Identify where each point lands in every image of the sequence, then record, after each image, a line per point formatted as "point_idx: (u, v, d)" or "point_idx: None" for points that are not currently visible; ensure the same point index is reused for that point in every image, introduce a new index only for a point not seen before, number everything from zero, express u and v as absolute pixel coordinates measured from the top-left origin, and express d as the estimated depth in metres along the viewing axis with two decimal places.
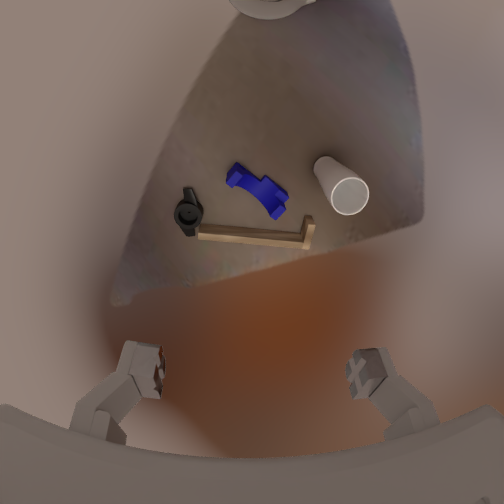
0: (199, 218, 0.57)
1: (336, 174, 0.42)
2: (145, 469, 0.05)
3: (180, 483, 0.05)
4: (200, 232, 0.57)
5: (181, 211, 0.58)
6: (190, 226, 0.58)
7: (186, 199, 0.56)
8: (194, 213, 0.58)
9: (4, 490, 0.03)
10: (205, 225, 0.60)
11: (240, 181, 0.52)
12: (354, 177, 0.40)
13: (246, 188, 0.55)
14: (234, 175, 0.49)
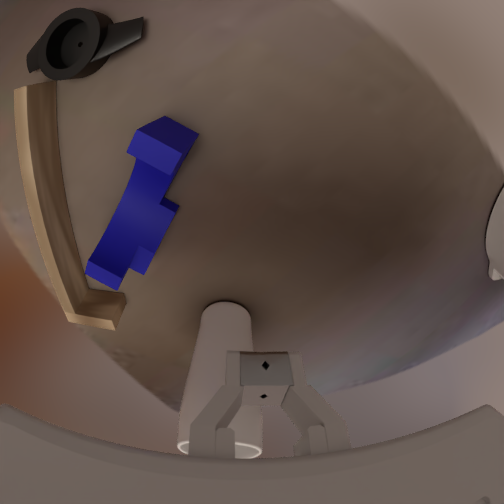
0: (61, 74, 0.13)
1: (254, 417, 0.18)
2: (145, 469, 0.05)
3: (180, 483, 0.05)
4: (28, 90, 0.12)
5: (83, 25, 0.12)
6: (43, 57, 0.12)
7: (111, 29, 0.13)
8: (76, 58, 0.14)
9: (4, 490, 0.03)
10: (50, 94, 0.15)
11: None
12: (261, 451, 0.18)
13: (136, 175, 0.19)
14: (166, 150, 0.14)
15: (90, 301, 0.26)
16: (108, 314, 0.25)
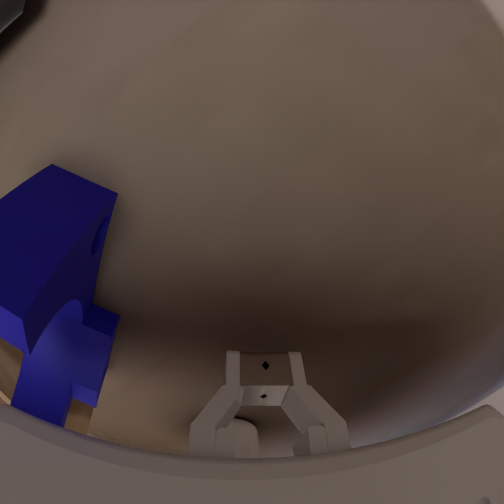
0: None
1: None
2: (145, 469, 0.05)
3: (180, 483, 0.05)
4: None
5: None
6: None
7: None
8: None
9: (4, 490, 0.03)
10: None
11: None
12: None
13: None
14: None
15: None
16: (72, 428, 0.15)
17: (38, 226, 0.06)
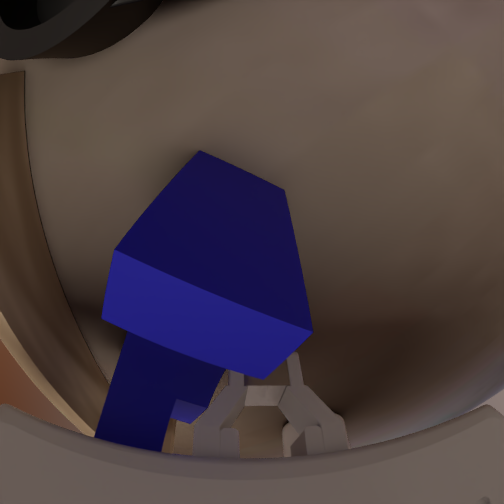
0: (26, 42, 0.03)
1: None
2: (145, 469, 0.05)
3: (180, 483, 0.05)
4: None
5: None
6: None
7: None
8: None
9: (4, 490, 0.03)
10: (10, 103, 0.06)
11: None
12: None
13: None
14: (252, 325, 0.04)
15: None
16: None
17: (248, 218, 0.06)
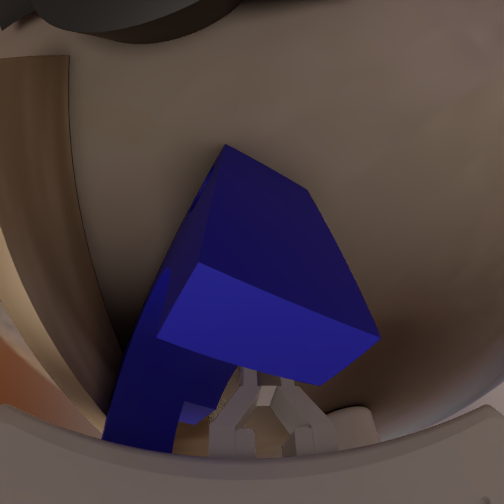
0: (102, 13, 0.03)
1: None
2: (145, 469, 0.05)
3: (180, 483, 0.05)
4: None
5: None
6: None
7: None
8: None
9: (4, 490, 0.03)
10: (54, 91, 0.05)
11: None
12: None
13: (165, 290, 0.09)
14: (330, 335, 0.04)
15: None
16: (199, 454, 0.16)
17: (296, 221, 0.06)
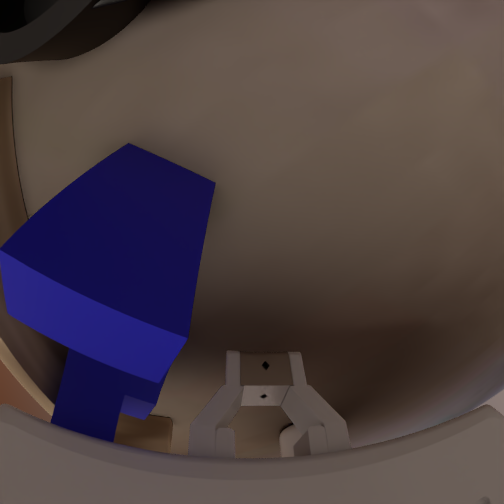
0: (8, 46, 0.03)
1: None
2: (145, 469, 0.05)
3: (180, 483, 0.05)
4: None
5: None
6: None
7: None
8: None
9: (4, 490, 0.03)
10: None
11: None
12: None
13: None
14: (122, 326, 0.03)
15: (123, 432, 0.16)
16: None
17: (151, 212, 0.05)
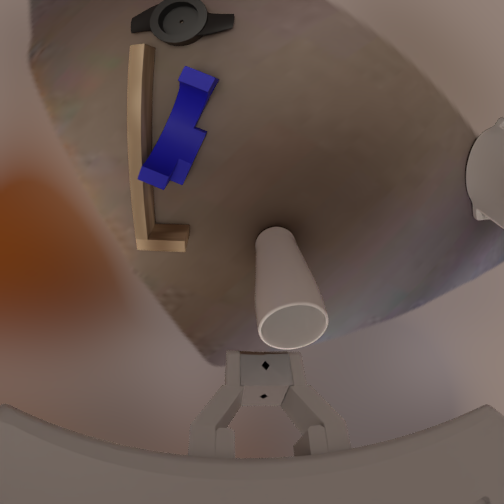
0: (171, 38, 0.21)
1: (319, 292, 0.26)
2: (145, 469, 0.05)
3: (180, 483, 0.05)
4: (144, 47, 0.20)
5: (185, 8, 0.20)
6: (155, 22, 0.19)
7: (211, 17, 0.21)
8: (177, 30, 0.22)
9: (4, 490, 0.03)
10: (152, 56, 0.23)
11: (189, 93, 0.24)
12: (326, 325, 0.25)
13: (176, 108, 0.26)
14: (205, 76, 0.21)
15: (159, 231, 0.33)
16: (180, 237, 0.33)
17: None
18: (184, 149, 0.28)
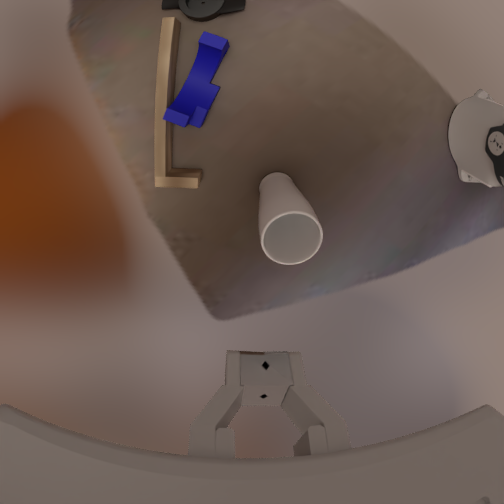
0: (195, 14, 0.25)
1: (314, 211, 0.30)
2: (145, 469, 0.05)
3: (180, 483, 0.05)
4: (174, 20, 0.24)
5: None
6: (183, 1, 0.23)
7: (227, 0, 0.25)
8: (199, 9, 0.26)
9: (4, 490, 0.03)
10: (178, 29, 0.27)
11: (206, 54, 0.28)
12: (321, 240, 0.30)
13: (195, 67, 0.30)
14: (219, 39, 0.25)
15: (176, 172, 0.38)
16: (193, 176, 0.37)
17: None
18: (201, 99, 0.32)
